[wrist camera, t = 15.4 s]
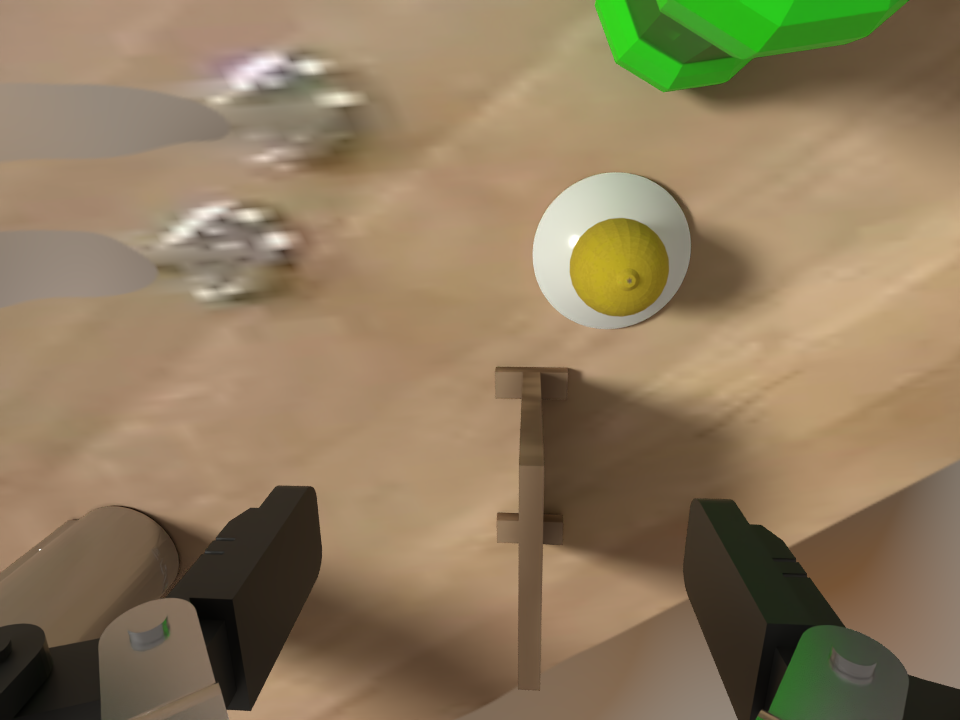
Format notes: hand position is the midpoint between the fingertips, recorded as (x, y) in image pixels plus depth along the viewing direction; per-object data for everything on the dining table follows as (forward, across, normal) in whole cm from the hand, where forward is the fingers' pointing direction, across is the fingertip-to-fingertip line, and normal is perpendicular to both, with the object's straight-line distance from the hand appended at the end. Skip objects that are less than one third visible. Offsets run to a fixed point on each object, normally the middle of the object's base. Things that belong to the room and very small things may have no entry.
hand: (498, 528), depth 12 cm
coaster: (+28, -6, -2) cm, 29 cm away
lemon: (+27, -6, -2) cm, 28 cm away
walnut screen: (+28, -2, +13) cm, 31 cm away
